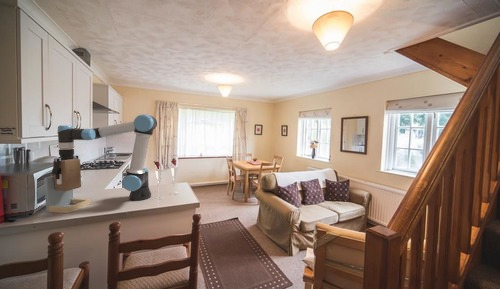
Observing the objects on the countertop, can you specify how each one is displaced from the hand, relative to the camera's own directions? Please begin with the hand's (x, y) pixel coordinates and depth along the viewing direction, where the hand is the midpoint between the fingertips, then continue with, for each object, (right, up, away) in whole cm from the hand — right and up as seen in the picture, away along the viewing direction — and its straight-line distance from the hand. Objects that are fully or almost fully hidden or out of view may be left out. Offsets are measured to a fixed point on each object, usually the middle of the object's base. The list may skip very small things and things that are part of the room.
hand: (68, 181), depth 134 cm
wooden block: (0, -5, 0) cm, 5 cm away
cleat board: (-1, -18, +1) cm, 18 cm away
